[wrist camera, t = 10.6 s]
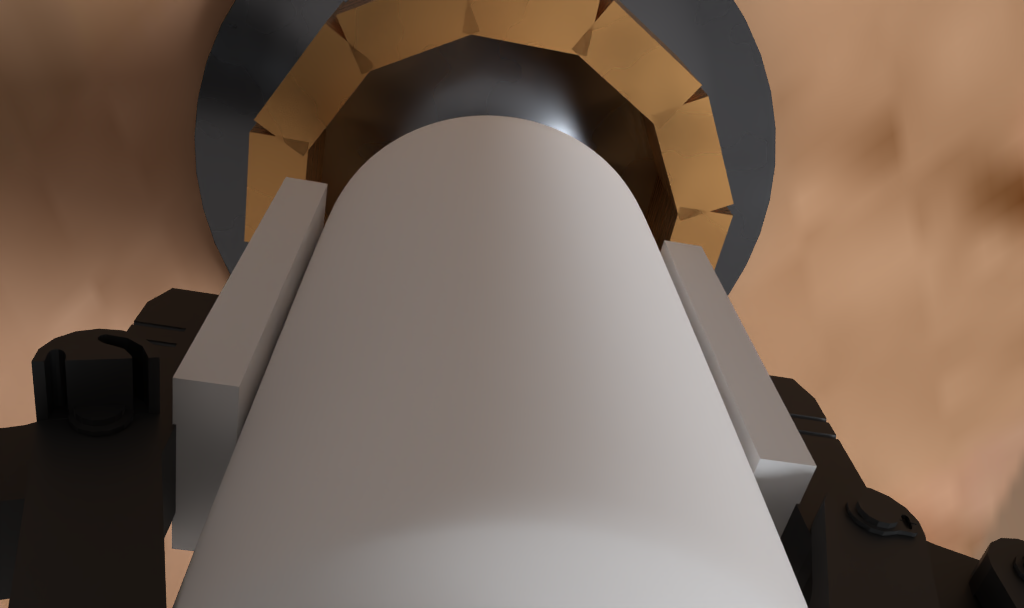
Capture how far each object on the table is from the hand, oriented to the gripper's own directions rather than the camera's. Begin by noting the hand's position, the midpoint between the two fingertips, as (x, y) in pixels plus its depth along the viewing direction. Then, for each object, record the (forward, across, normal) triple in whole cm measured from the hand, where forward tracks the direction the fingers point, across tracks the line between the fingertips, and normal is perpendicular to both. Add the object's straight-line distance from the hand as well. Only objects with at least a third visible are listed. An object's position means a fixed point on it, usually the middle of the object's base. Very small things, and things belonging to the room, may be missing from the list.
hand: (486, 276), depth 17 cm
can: (+1, 0, 0) cm, 1 cm away
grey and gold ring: (+6, 0, 0) cm, 6 cm away
